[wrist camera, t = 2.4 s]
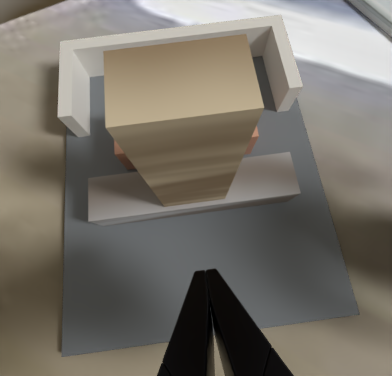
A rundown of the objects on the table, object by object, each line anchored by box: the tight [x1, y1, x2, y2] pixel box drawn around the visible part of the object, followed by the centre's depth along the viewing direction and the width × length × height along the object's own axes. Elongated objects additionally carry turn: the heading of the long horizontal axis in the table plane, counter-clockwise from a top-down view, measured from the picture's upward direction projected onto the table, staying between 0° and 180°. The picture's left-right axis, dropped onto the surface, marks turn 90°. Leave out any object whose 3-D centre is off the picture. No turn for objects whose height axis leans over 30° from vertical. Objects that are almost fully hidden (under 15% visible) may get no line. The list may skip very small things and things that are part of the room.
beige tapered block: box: [88, 34, 301, 226], centre depth 12 cm, size 3×14×12 cm, turn 97°
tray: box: [58, 15, 303, 137], centre depth 20 cm, size 7×18×3 cm, turn 97°
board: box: [62, 56, 359, 357], centre depth 19 cm, size 24×20×1 cm
